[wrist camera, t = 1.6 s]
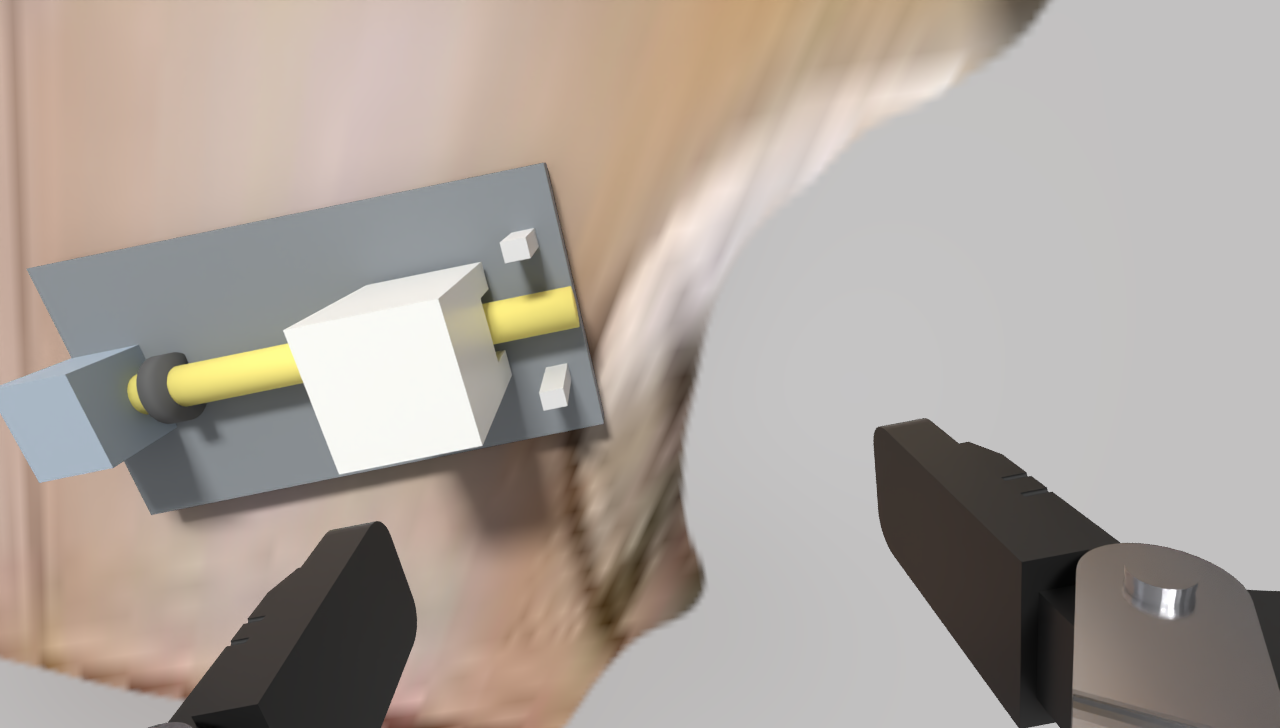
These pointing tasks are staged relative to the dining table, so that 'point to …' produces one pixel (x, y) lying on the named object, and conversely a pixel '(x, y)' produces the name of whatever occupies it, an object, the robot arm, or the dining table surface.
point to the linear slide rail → (257, 347)
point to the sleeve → (402, 368)
